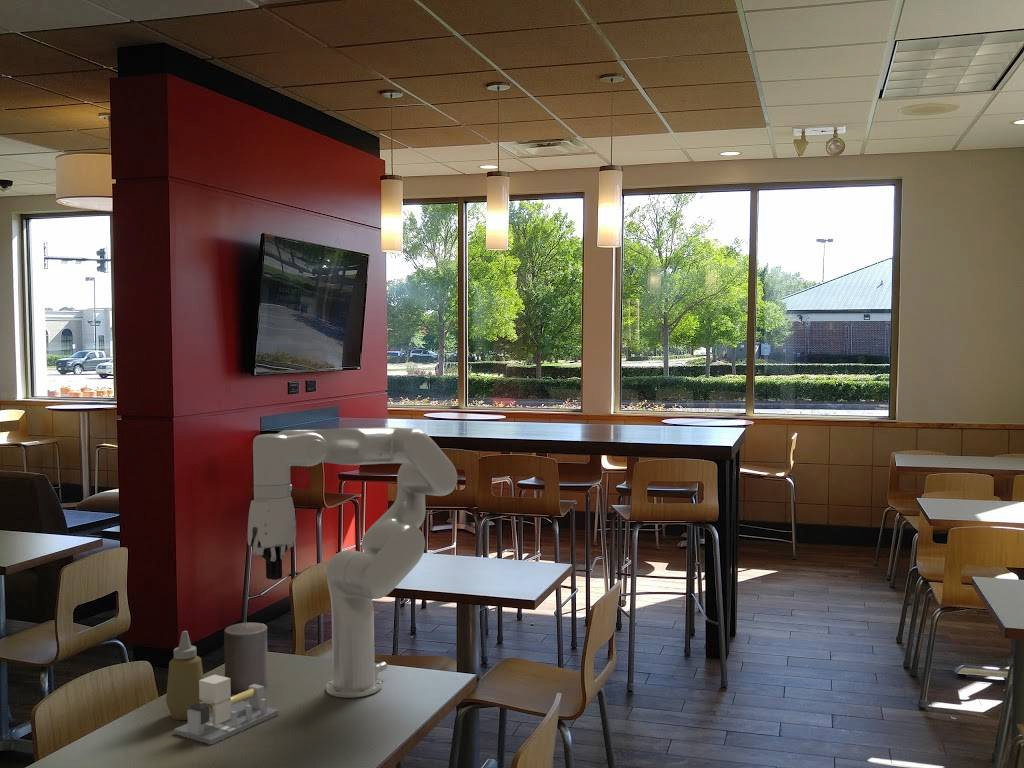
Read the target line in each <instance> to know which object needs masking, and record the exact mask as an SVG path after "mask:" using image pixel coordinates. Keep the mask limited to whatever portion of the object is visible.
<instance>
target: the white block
mask: <svg viewBox="0 0 1024 768" xmlns="http://www.w3.org/2000/svg"><path fill="white" fill-rule="evenodd" d="M203 678H204V679H201V680H199V700H200V703H201V704H205V705H209V704H210V705H212V714H209V719H210V718H213V724H214V725H217V724H219V723H222V722H224V721H226V720H229V719H231V697H232V695H231V694H232V693H231V685H230V678H227V677H225V676H222V675H218V674H212V675H209V676H206V677H203Z"/></svg>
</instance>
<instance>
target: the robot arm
mask: <svg viewBox="0 0 1024 768" xmlns="http://www.w3.org/2000/svg"><path fill="white" fill-rule="evenodd" d="M252 456H253V457H252V458H253V460H252V461H253V462H252V463H253V500H251V502H250V505H249V511H248V519H247V520H248V521H247V522H248V523H247V545H248V546H249V547H252V554H253V555H257V556H261V557H262V559H263V561H265V579H268V580H274V581H277V580H281V579H282V578H283V560H284V559H285V555H286V553H287V550H289V549H290V548H292V547H293V546H294V545H295V543H294V541H295V540H296V537H297V519H296V513H295V512H296V510H295V505H294V500H293V497H292V496H291V493H292V492H291V491H292V489H293V485H292V484H291V466H292V467H295V466H297V467H313V466H316V465H318V464H321V463H327V464H335V465H343V466H361V465H363V466H365V465H380V464H381V465H382V464H383V465H385V464H401V465H400V467H399V469H398V471H397V476H396V481H397V482H396V483H397V492H396V493H397V494H396V498H395V500H394V502H393V504H391V506H390V507H389V508H388V509H387V510H386V511H385V512H384V513H383V514H382V515H381V516H380V517H379V518H378V519H377V520H376V521H375V522H374V523H373V524H372V525H371V526H369V528H368V530H366V531H365V533H364V535H363V537H362V541H361V548H362V551H358V550H353V549H352V550H351V549H350V550H346V549H345V550H342V551H339V552H337V553H336V554H334V555H333V556H332V557H331V558H330V560H329V561H328V564H327V567H326V582H327V587H328V591H329V598H330V607H331V644H332V646H331V647H332V649H331V651H332V654H331V655H332V680H330V681H328V682H327V684H326V685H325V689H326V691H325V692H326V693H327V694H329V695H330V696H333V697H337V698H345V699H346V698H347V699H348V698H351V699H352V698H361V697H362V698H363V697H367V696H369V695H373V694H375V693H377V692H379V691H380V690H381V688H382V687H383V682H382V681H383V680H382V679H380V678H379V677H378V675H379V673H381V672H384V671H386V670H387V668H388V664H387V663H386V662H385V661H381V662H379V663H377V664H376V662H375V661H376V660H375V657H376V656H375V611H374V604H373V600H379V599H383V598H384V597H386V596H389V594H390V593H391V592H393V590H395V588H396V587H398V585H399V584H400V583H401V582H402V581H403V580H404V579H405V578H406V576H408V574H409V573H410V572H411V571H412V570H413V569H414V568H415V567H416V566H417V565H418V563H419V562H420V561H421V559H422V557H423V555H424V552H425V548H426V539H425V538H426V537H425V536H424V533H423V532H422V530H421V529H420V527H421V526H422V524H423V522H424V521H425V518H426V495H428V496H435V497H436V496H437V497H443V496H447V495H450V494H451V493H453V491H454V490H455V488H456V486H457V483H458V472H457V470H456V467H455V465H454V464H453V463H452V461H451V459H449V457H448V456H447V455H446V454H445V452H443V450H442V449H441V448H440V447H439V445H438V444H437V443H436V442H435V441H434V440H433V439H432V438H431V437H430V436H429V435H428V434H427V433H426V432H425V431H423V430H421V429H419V428H413V427H412V428H410V427H409V428H408V427H345V428H331V429H330V428H329V429H284V430H281V431H279V432H278V433H266V434H265V433H263V434H258V435H256V436H255V437H254V438H253V442H252Z"/></svg>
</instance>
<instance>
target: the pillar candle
mask: <svg viewBox="0 0 1024 768" xmlns="http://www.w3.org/2000/svg"><path fill="white" fill-rule="evenodd" d="M223 637H224V638H223V639H224V643H223V644H224V677H227V678H230V685H231V694H235V693H238V694H239V693H242V692H244V691H247V690H249V686H250V685H253V684H257V685H261V686H264V687H265V688H267V685H268V682H269V681H268V677H269V676H268V675H269V674H268V626H267V625H266V624H264V623H260V622H240V623H236V624H232V625H231V624H230V626H226V628H225V629H224V636H223Z"/></svg>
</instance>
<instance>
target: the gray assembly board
mask: <svg viewBox="0 0 1024 768" xmlns="http://www.w3.org/2000/svg"><path fill="white" fill-rule="evenodd" d="M247 699H248V701H245V700H247ZM267 703H268V702H267V698H265V688H264V686H261V685H257V684H253V685H250V686H249V690H247V691H244V692H242V693H239V694H235V695H231V719H229V720H226V721H224V722H222V723H219V724H217V725H214V724H213V718H210V719H209V714H212V705H210V704H209V705H205V704H201V703H197V704H194V705H191V706H190V709H189V710H187V716H188V719H187V723H185V724H183V725H181V726H178V727H176V728H174V729H173V734H174V735H176V734H177V735H176V736H179V735H180V737H182V736H183V738H186V737H187V738H186V739H189V738H191V739H190V740H193V739H194V740H193V741H196V740H197V741H196V742H199V741H200V742H199V743H203V742H204V744H206V743H207V745H209V746H212V745H215V744H217V743H219V742H220V740H221V741H222V740H225V739H227V737H228V738H230V737H232V736H234V735H236V733H237V734H238V732H239V733H241V732H243V731H246V730H248V729H250V728H252V727H254V726H253V725H255V726H257V725H258V723H259V724H261V723H263V722H262V721H264V722H266V721H268V720H270V719H273V718H274V717H273V716H275V717H277V716H279V715H278V714H279V713H280V711H279V709H276V708H271V707H269V706H268V705H267ZM276 715H277V716H276ZM272 717H273V718H272ZM269 718H270V719H269ZM267 719H268V720H267ZM265 720H266V721H265ZM260 722H261V723H260ZM256 724H257V725H256ZM251 726H252V727H251ZM249 727H250V728H249ZM247 728H248V729H247ZM245 729H246V730H245ZM229 736H230V737H229ZM211 744H212V745H211Z"/></svg>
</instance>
